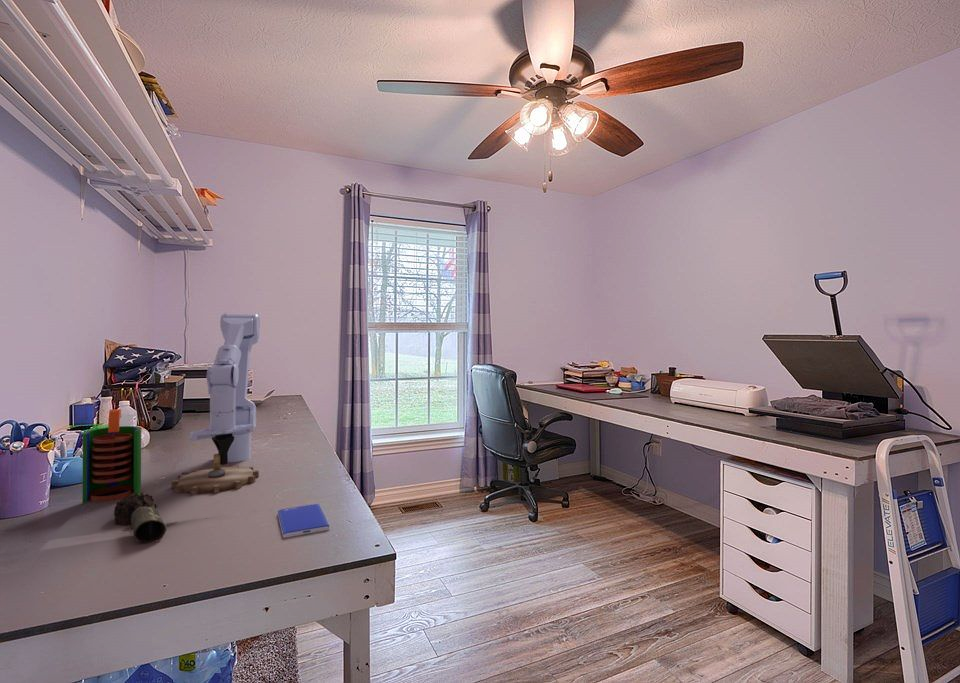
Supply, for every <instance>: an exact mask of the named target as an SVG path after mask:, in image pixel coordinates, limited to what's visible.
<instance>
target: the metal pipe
mask: <svg viewBox="0 0 960 683" xmlns="http://www.w3.org/2000/svg"><path fill="white" fill-rule="evenodd" d="M157 508H158V507H157V504H156V503H155V501H154V499H153V496H152V495H151V494H149V493H146V494H144V492H142V491H141V493H140V494H138V495H137V494H134V493H132V494H130V495H128V496H126V497H125V498H123V499H119V501H117V502H116V505H115V507H114V511H113V512H114V514H113V515H114V524H115V526H124V527H125V526H131V528H132V533H133V534H132V536H133V539H134V540H135V541H136V542H138V543H140V544H145V545H146V544H149V543H152V542H157V541H156V540H158V541H160V540H161V539H162V538H163V537H164V536H165V535H166V532H167V526H166V523H165V522H164V520H163V519H162V517H161V515H160V513H159V512H158V511H157ZM128 529H129V528H126V530H128Z"/></svg>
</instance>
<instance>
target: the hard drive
mask: <svg viewBox="0 0 960 683" xmlns="http://www.w3.org/2000/svg"><path fill="white" fill-rule="evenodd" d="M277 516H278V522H279V525H280V526H279V527H280V530H281V535H282V538H283V539H285V538H291V537H297V536H301V535H307V534H311V533H313V534H314V533H319V532H324V531H328V530H330V524H329V522H328V520H327V518H326V516H325V514H324V512H323V510H322V508H321V506H320V504H319V503H313V504H307V505H299V506H295V507H287V508H281V509H278V510H277Z"/></svg>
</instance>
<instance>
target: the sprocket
mask: <svg viewBox="0 0 960 683" xmlns="http://www.w3.org/2000/svg"><path fill="white" fill-rule="evenodd" d="M212 459H213V464H212V465H213V468H212V467H211V468H206V469H201V470H200V469H196V470H194V471H193V472H189V474H187V475H182V474H179V475H178V476H177V477H178V478H177V479H175V480H171V489H174V492H175V493H177V494H178V493H190V495H192V496H193V495H194V496H195V495H197V494H203V493H206V494H207V493H214V494H219V493H220V492H222V491H227V490H231V489H232V490H233V489H237V490H239V489H241V488H242V486H244V485H247V484H254V483H255V482H256V478H259V477H260V475H259V474H260V471H259V470H258V469H257V470H254V467H253V466H249V467H243V466H240V465H238V464H236V465H233V466H222V465H221V454H218V453H214V454H213V458H212Z"/></svg>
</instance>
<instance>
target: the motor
mask: <svg viewBox="0 0 960 683" xmlns="http://www.w3.org/2000/svg"><path fill="white" fill-rule="evenodd" d="M121 418H122V409H121V408H117V409H109V412H108V426H107V427H100V428H96V429H90V430H86V431H84V432H82V488H81V489H82V493H81V494H82V502H81V503H82V504H81V505H82V506H84V505H85V504H86V503H87V501H90V502H94V503H106V502H113V501H118V500H119V501H120V500H121V499H123V498H125V497H126V496H128V495H130V494H132V493H134V494H137V495H140V494H141V493H142V427H141V426H133V425H132V426H131V425H128V426H127V425H123V426H122V425H121V426H120V419H121ZM117 491H118V492H119V491H121V492H122V493H118V494H112V495H103V494H106V493H111V492H117ZM123 491H124V492H123ZM101 495H102V496H101Z"/></svg>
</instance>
